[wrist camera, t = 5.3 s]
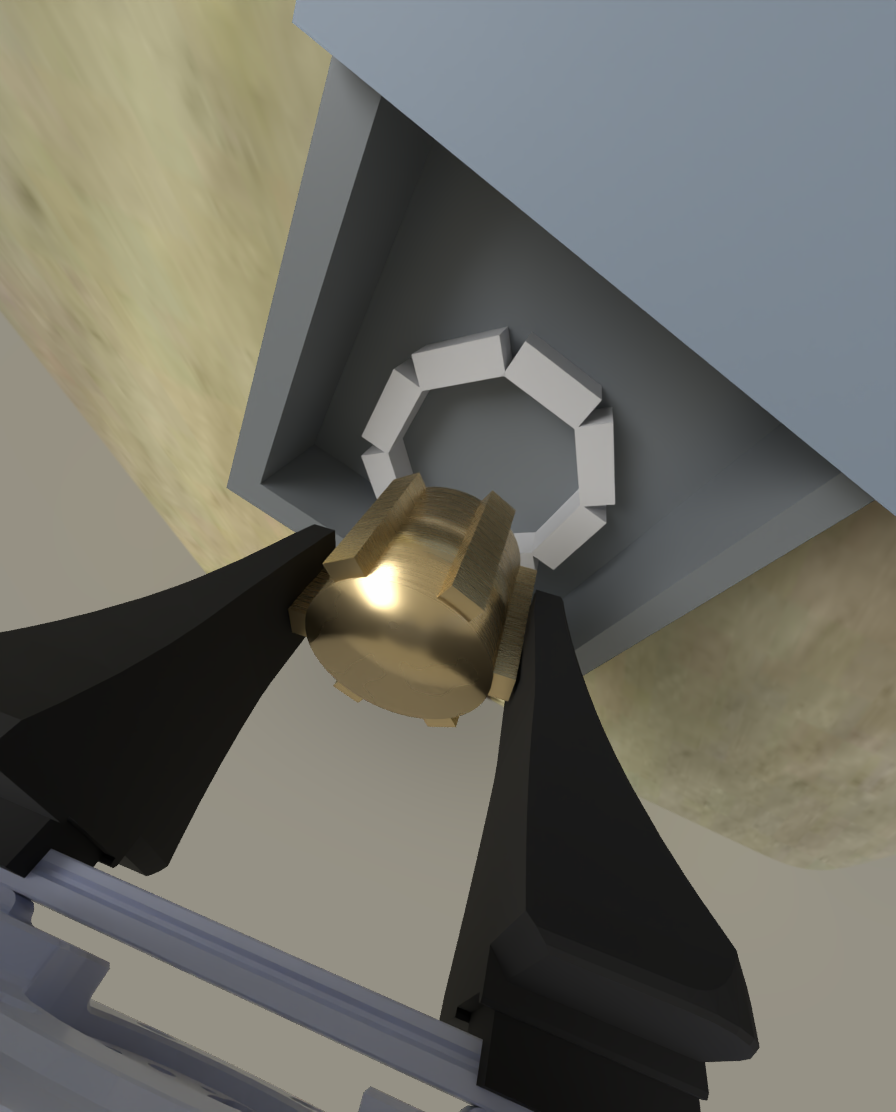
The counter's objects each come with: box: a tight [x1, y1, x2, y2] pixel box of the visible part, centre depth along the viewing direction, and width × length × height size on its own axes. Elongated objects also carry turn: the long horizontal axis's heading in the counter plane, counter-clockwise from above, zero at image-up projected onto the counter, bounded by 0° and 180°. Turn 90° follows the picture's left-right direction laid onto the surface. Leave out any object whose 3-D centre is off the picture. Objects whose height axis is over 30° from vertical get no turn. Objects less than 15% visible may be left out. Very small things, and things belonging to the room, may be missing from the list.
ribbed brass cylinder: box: [288, 472, 537, 727], centre depth 11 cm, size 5×5×4 cm
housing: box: [227, 55, 875, 675], centre depth 15 cm, size 16×16×5 cm
